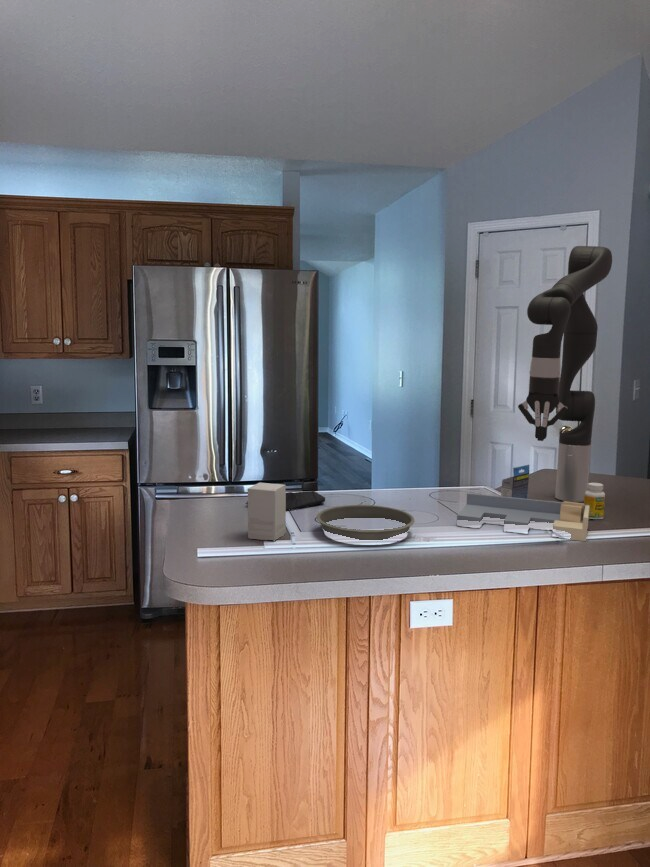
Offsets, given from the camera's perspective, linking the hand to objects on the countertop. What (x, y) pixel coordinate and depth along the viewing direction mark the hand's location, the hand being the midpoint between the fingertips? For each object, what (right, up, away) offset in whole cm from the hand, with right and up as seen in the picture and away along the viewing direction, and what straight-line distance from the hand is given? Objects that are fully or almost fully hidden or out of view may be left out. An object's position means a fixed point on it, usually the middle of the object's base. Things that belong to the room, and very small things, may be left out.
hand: (540, 440), depth 196 cm
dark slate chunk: (-68, -19, +18) cm, 73 cm away
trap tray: (-5, -23, -1) cm, 23 cm away
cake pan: (-47, -24, -10) cm, 53 cm away
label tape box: (-2, -20, +21) cm, 29 cm away
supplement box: (-71, -24, -14) cm, 76 cm away
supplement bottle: (+17, -22, +9) cm, 29 cm away
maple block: (+7, -20, -4) cm, 22 cm away
